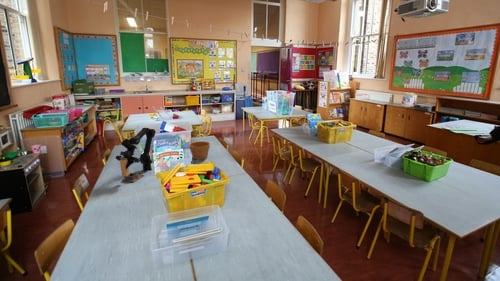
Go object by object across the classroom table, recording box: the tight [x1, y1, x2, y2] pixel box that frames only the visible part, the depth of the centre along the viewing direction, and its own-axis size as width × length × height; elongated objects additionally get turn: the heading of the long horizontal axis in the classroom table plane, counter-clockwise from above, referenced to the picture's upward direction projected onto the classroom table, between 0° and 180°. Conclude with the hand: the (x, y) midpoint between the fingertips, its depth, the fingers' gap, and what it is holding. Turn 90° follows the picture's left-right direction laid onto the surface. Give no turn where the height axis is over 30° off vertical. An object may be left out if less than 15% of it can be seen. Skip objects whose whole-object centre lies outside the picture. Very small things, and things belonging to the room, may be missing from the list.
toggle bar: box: [119, 156, 130, 177], centre depth 229 cm, size 4×4×16 cm
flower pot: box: [188, 141, 211, 161], centre depth 290 cm, size 21×21×15 cm
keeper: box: [121, 172, 145, 184], centre depth 240 cm, size 14×11×4 cm
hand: (123, 168), depth 228 cm, fingers closed on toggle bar, 4 cm apart
